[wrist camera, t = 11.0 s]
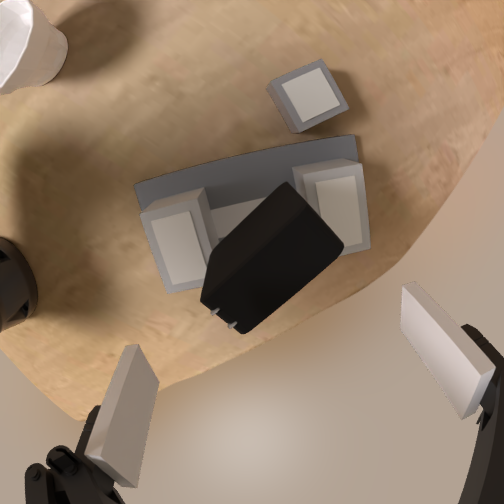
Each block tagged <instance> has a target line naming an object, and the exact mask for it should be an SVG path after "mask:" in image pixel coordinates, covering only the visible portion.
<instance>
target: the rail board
mask: <svg viewBox="0 0 504 504" xmlns="http://www.w3.org/2000/svg"><path fill="white" fill-rule="evenodd" d="M286 181H287V182H288V183H289V184H290V185H291V186H292V187H293V188H294V189H295V190H296V191H297V192H298V193H299V194H300V195H301V196H302V197H303V198H304V199H305V200H306V202H307V203H308V204H309V205H310V206H311V207H312V208H313V209H314V210H315V211H316V213H317V214H318V215H319V216H320V217H321V218H322V219H323V220H324V221H325V223H326V224H327V225H328V226H329V227H330V228H331V229H332V230H333V232H334V233H335V234H336V235H337V236H338V237H339V239H340V240H341V241H342V242H343V243H344V249H343V251H342V253H341V254H340V255H339V256H343V255H347V254H351V253H355V252H360V251H364V250H368V249H371V242H370V229H369V218H368V208H367V199H366V191H365V183H364V175H363V168H362V164H361V163H359V159H358V153H357V147H356V141H355V135H352V134H349V135H342V136H336V137H329V138H323V139H317V140H311V141H305V142H300V143H294V144H289V145H284V146H278V147H273V148H269V149H264V150H259V151H254V152H250V153H245V154H241V155H237V156H233V157H228V158H224V159H220V160H216V161H212V162H208V163H204V164H200V165H197V166H193V167H189V168H186V169H182V170H178V171H175V172H171V173H168V174H165V175H161V176H158V177H155V178H151V179H148V180H145V181H142V182H139V183H136V184H134V188H135V191H136V195H137V198H138V201H139V205H140V208H141V211H142V212H141V213H140V214H139V215H140V218H141V221H142V224H143V227H144V230H145V233H146V236H147V239H148V242H149V245H150V248H151V251H152V254H153V256H154V259H155V262H156V265H157V267H158V270H159V273H160V276H161V278H162V281H163V283H164V286H165V289H166V291H167V294H169V293H174V292H179V291H184V290H189V289H194V288H199V287H203V284H204V279H205V274H206V270H207V265H208V261H209V256H210V254H211V252H212V250H213V249H214V248H215V247H216V246H217V245H218V244H219V243H220V242H221V241H222V240H223V239H224V238H225V237H226V236H227V235H228V234H229V233H230V232H231V231H232V230H233V229H234V228H235V227H236V226H237V225H238V224H239V223H240V222H241V221H242V220H243V219H245V218H246V217H247V216H248V215H249V214H250V213H251V212H252V211H253V210H254V209H255V208H256V207H257V206H258V205H259V204H260V203H261V202H262V201H263V200H264V199H266V198H267V197H268V196H269V195H270V194H271V193H272V192H273V191H274V190H275V189H276V188H277V187H278V186H280V185H281V184H282V183H284V182H286ZM339 256H338V257H339Z"/></svg>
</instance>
